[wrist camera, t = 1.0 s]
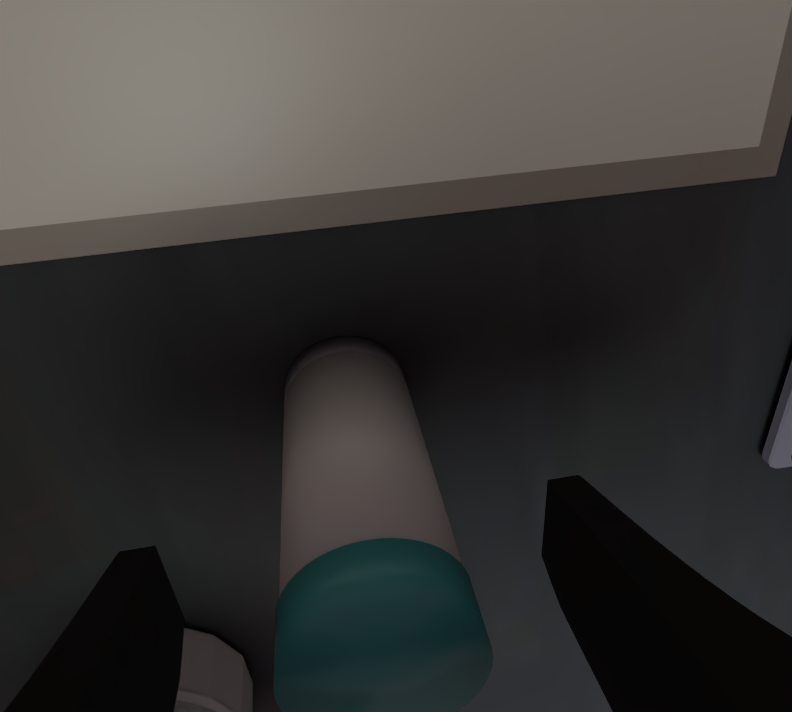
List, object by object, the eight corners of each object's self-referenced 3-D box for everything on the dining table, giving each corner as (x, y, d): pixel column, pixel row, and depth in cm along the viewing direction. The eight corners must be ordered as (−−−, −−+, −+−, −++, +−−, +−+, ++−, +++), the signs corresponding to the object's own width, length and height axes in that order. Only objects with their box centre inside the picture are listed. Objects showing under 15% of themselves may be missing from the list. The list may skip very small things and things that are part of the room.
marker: (402, 326, 15) (494, 586, 8) (410, 429, 17) (491, 717, 10) (272, 343, 15) (253, 629, 8) (293, 446, 16) (292, 757, 9)
